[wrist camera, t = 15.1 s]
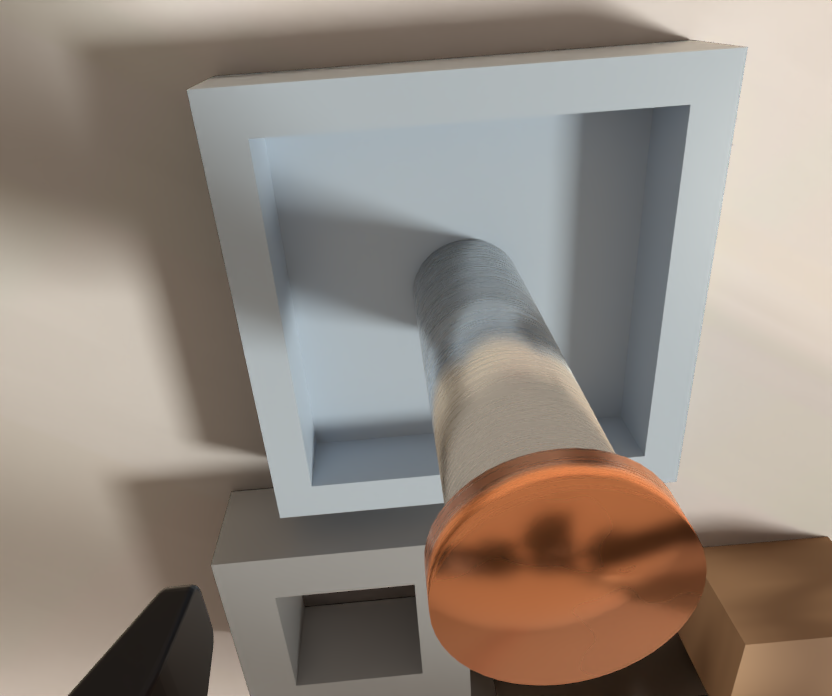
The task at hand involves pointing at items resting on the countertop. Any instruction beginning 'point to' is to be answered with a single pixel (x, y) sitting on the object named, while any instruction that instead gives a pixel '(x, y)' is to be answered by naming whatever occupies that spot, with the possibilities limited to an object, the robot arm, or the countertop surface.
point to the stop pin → (536, 495)
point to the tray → (458, 220)
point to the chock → (764, 620)
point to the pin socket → (339, 623)
